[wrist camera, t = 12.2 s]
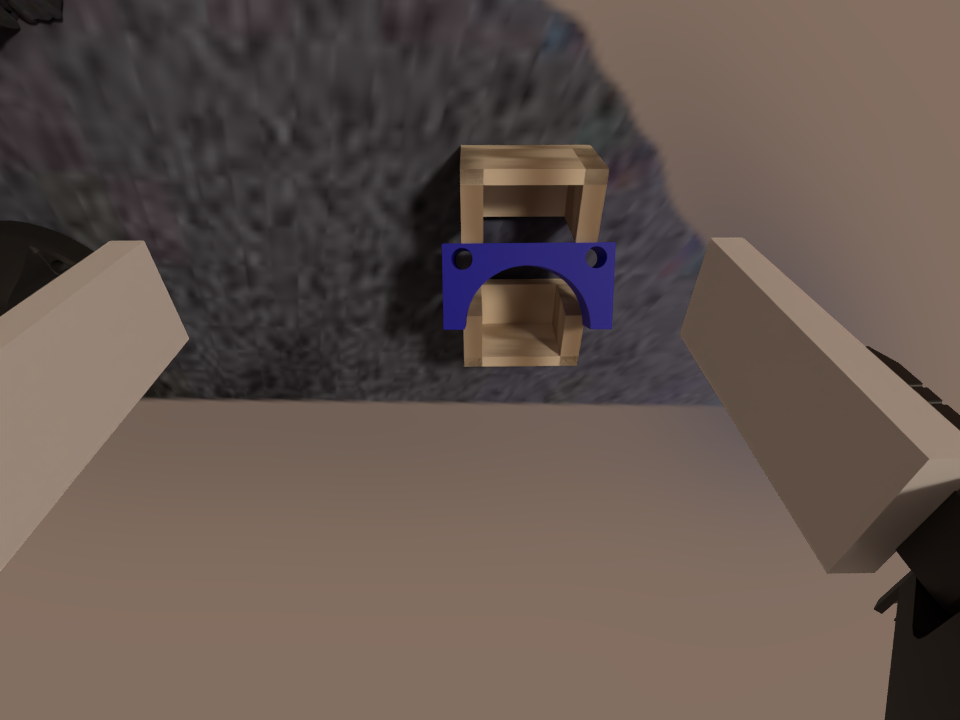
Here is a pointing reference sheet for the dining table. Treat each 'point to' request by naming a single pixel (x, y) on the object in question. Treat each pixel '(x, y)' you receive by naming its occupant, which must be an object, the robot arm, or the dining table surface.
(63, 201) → the dining table surface
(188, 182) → the dining table surface
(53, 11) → the dark slate chunk
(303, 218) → the dining table surface
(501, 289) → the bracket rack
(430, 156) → the dining table surface
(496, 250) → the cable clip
